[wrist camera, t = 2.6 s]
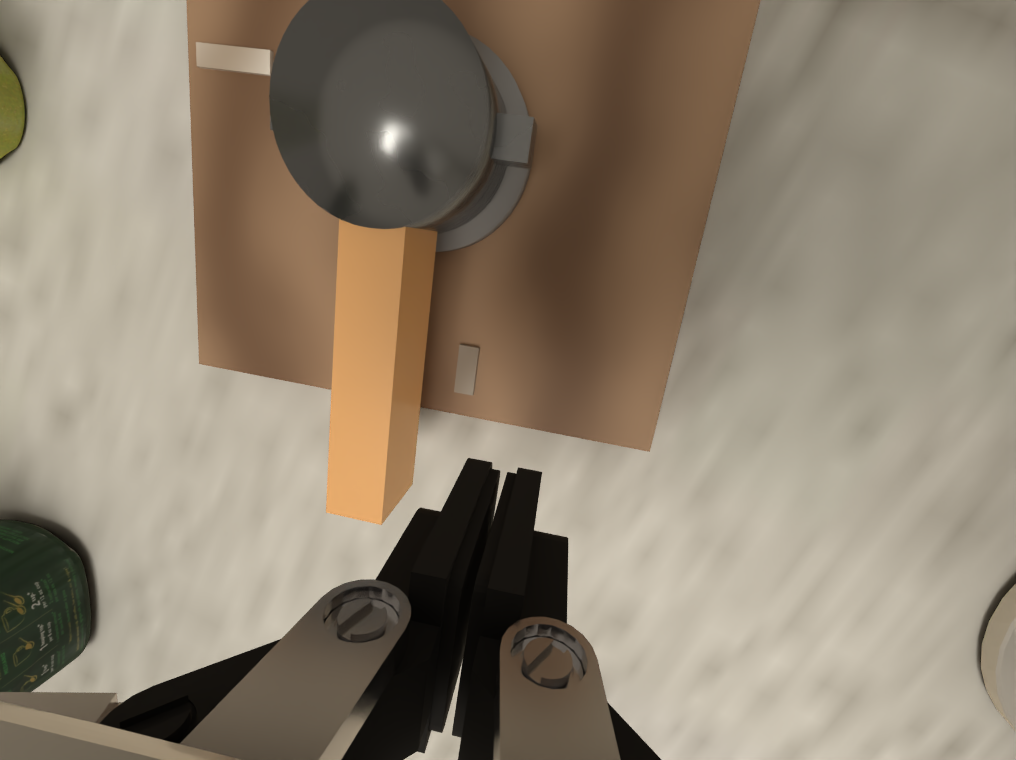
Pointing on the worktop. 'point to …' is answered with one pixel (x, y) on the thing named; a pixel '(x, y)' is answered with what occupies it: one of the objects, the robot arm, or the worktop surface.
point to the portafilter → (387, 204)
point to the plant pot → (10, 110)
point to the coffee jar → (39, 606)
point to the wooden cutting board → (490, 211)
